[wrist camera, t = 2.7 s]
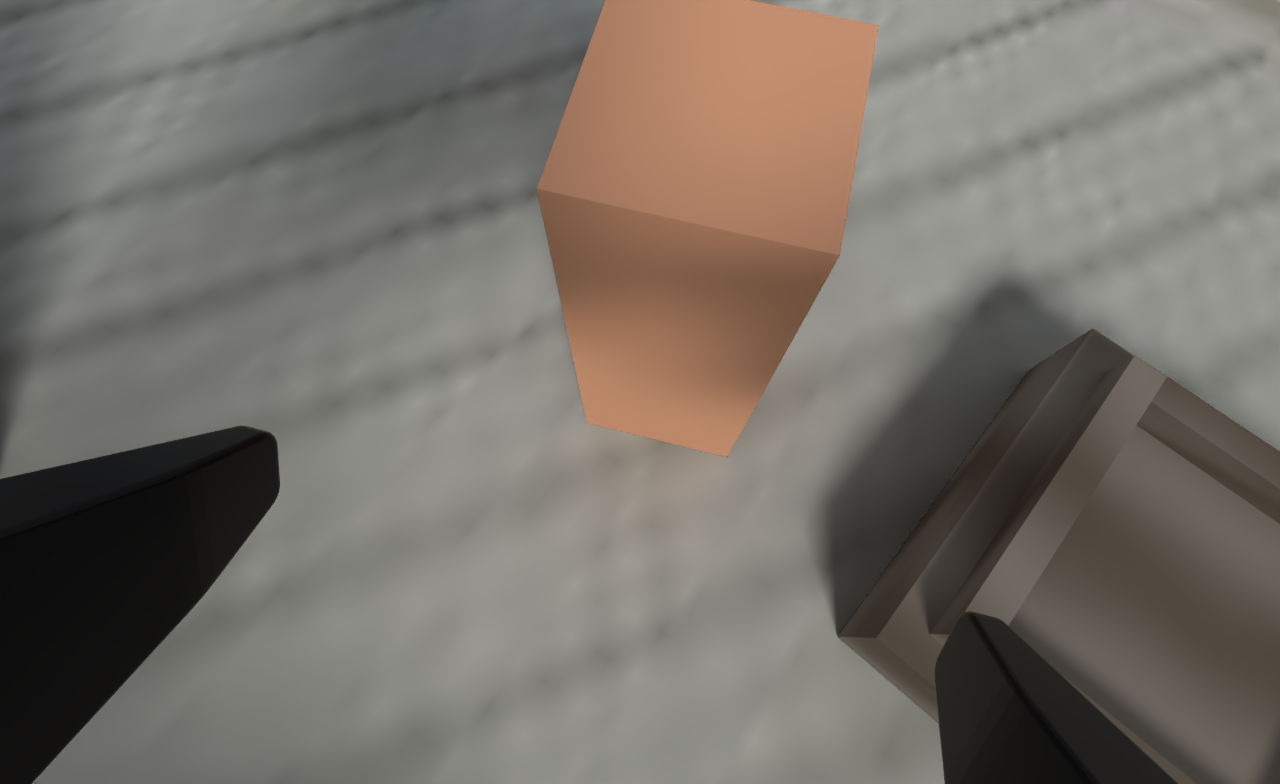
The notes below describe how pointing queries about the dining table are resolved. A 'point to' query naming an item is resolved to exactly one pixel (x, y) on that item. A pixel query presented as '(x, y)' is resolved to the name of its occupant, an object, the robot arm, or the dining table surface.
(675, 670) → the dining table surface
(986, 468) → the base block
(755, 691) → the dining table surface
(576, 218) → the terracotta column
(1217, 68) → the dining table surface
